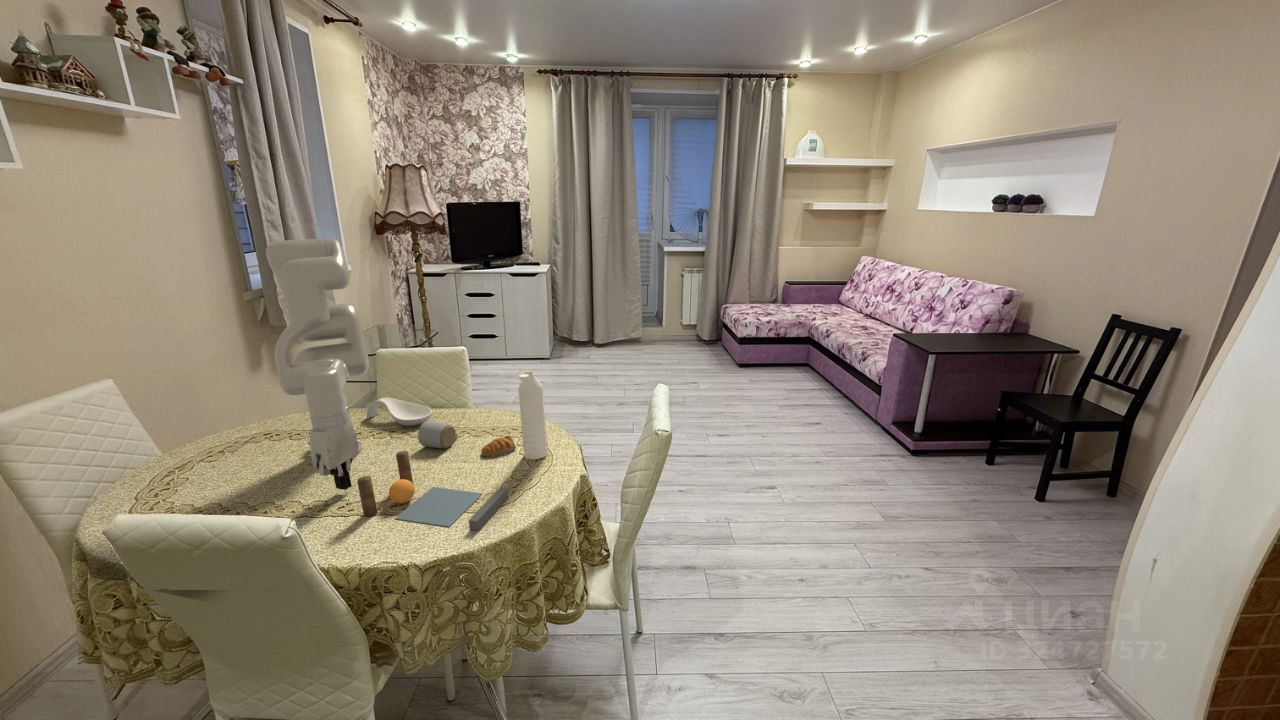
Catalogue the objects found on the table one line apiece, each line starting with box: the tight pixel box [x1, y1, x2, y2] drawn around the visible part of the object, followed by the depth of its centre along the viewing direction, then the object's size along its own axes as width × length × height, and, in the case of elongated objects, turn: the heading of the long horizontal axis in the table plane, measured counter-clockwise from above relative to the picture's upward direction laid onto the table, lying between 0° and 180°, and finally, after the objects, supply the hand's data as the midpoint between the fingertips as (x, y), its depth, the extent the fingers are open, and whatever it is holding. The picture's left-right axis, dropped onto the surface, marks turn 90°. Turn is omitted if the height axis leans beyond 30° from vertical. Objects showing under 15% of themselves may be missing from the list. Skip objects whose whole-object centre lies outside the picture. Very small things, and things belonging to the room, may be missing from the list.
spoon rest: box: [366, 396, 433, 427], centre depth 173 cm, size 24×12×7 cm, turn 71°
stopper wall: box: [468, 487, 510, 532], centre depth 120 cm, size 2×14×2 cm, turn 166°
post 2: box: [395, 450, 414, 485], centre depth 132 cm, size 3×3×9 cm
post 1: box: [356, 475, 378, 518], centre depth 120 cm, size 3×3×9 cm
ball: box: [388, 479, 416, 504], centre depth 125 cm, size 6×6×6 cm
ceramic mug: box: [417, 419, 458, 449], centre depth 155 cm, size 11×8×8 cm
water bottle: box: [517, 369, 548, 461], centre depth 144 cm, size 9×6×25 cm
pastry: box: [481, 435, 517, 458], centre depth 151 cm, size 9×7×4 cm
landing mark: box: [394, 486, 484, 528], centre depth 124 cm, size 14×14×1 cm
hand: (343, 487), depth 130 cm, fingers closed
